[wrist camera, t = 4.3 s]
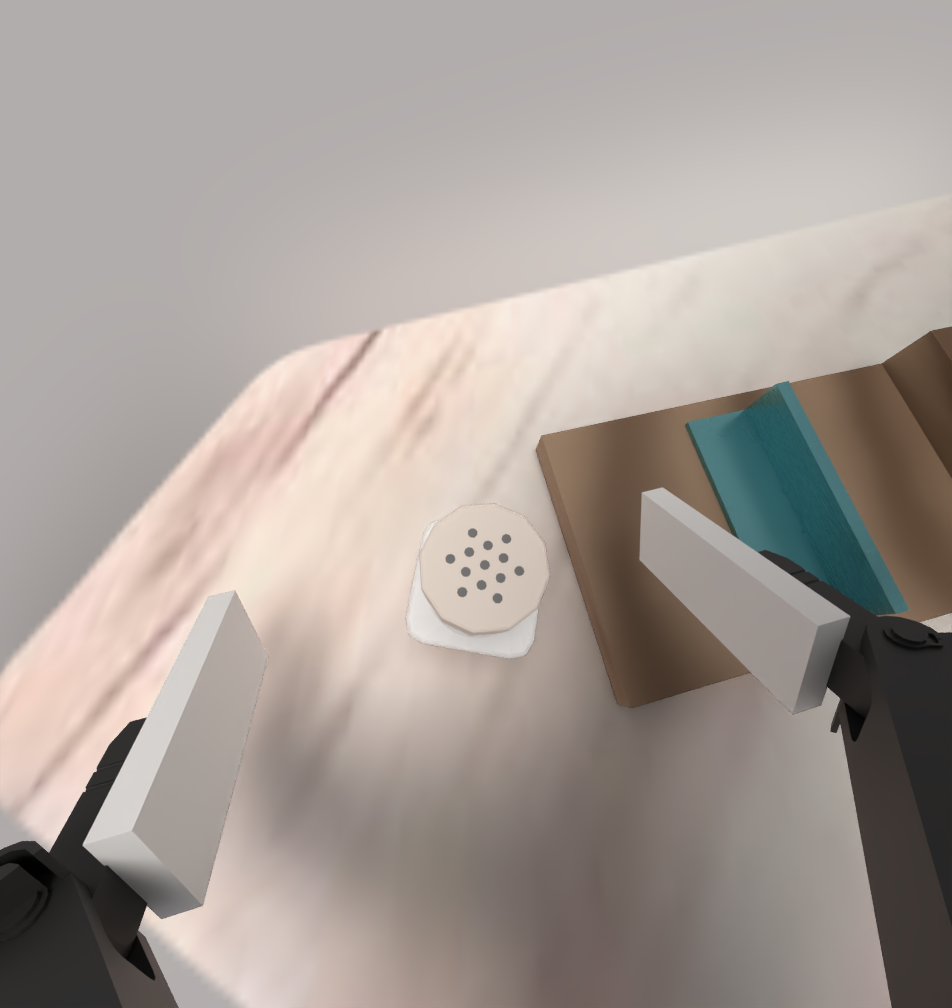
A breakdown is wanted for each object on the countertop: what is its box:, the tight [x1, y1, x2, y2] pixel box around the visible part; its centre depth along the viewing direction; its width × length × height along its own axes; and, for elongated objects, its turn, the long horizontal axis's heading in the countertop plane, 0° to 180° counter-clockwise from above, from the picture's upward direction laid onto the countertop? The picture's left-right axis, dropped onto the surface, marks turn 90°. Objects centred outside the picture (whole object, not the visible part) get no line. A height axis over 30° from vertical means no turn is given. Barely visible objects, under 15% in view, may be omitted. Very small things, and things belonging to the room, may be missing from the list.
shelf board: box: [536, 327, 952, 708], centre depth 20 cm, size 20×12×4 cm, turn 104°
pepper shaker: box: [405, 503, 550, 659], centre depth 15 cm, size 4×4×10 cm
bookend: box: [685, 381, 909, 616], centre depth 19 cm, size 4×10×2 cm, turn 14°
